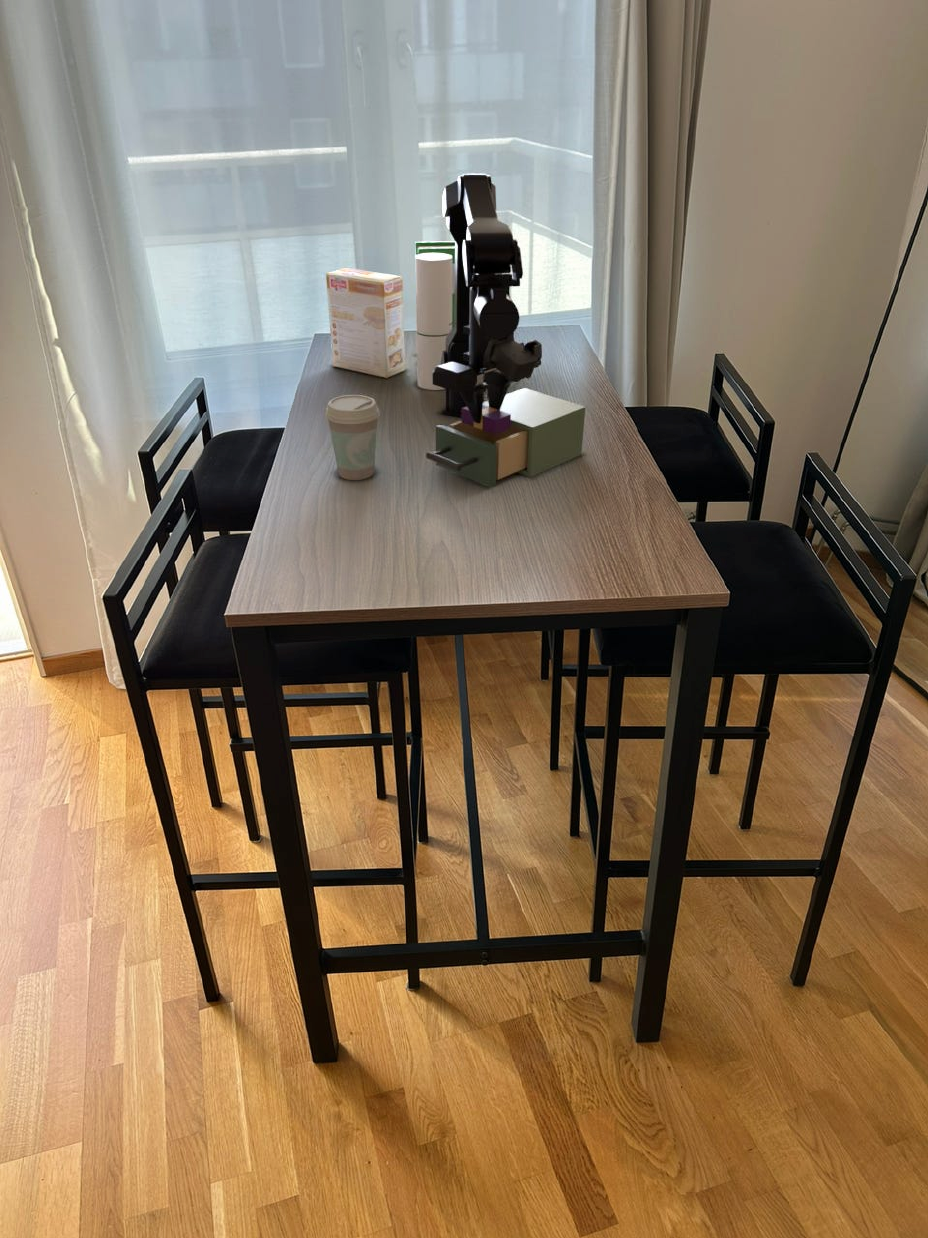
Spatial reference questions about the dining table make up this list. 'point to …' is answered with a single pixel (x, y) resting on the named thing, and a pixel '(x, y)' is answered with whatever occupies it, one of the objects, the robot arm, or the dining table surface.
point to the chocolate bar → (488, 420)
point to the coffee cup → (353, 434)
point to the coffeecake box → (366, 321)
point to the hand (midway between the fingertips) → (485, 419)
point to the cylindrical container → (432, 313)
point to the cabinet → (546, 428)
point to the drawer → (480, 452)
